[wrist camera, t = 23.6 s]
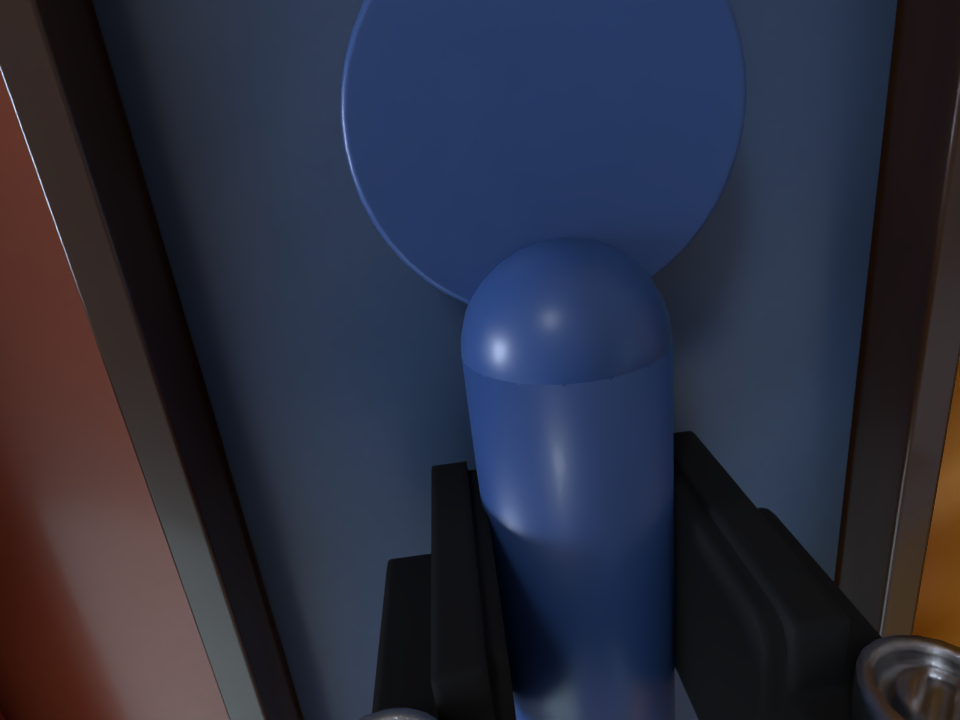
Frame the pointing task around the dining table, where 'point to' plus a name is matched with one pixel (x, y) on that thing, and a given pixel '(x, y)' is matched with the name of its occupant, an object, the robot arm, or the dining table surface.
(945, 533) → the dining table surface
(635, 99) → the blue spoon
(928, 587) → the dining table surface
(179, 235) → the sorting tray
